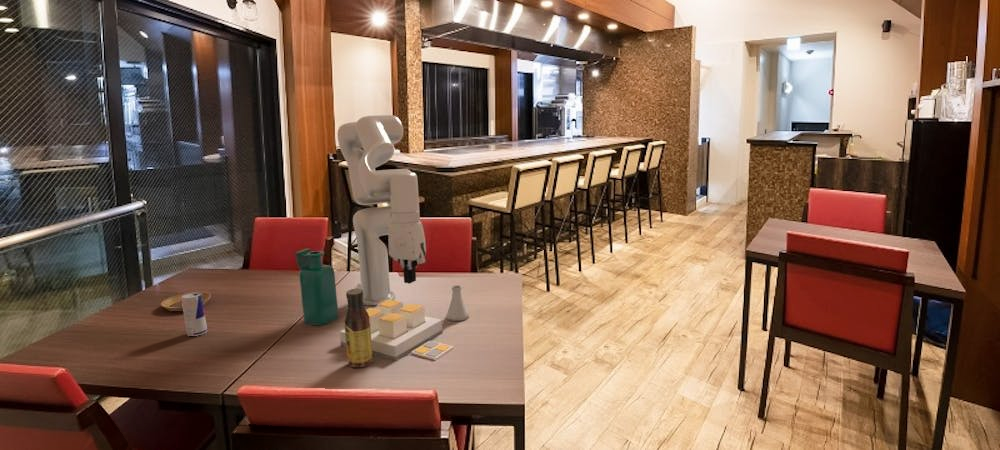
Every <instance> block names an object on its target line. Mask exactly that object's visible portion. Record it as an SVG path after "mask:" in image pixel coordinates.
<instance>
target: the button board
mask: <svg viewBox="0 0 1000 450" xmlns="http://www.w3.org/2000/svg"><path fill="white" fill-rule="evenodd" d="M442 321H443V320H442V319H439V318H436V317H435V318H434V317H430V316H426V315H425V323H423V324H422V325H420V326H418V327H416V328H414V329H411V328H407V327H406V329H407V333H405V334H403V335H402V336H400V337H398V338H396V339H394V340H393V339H389V338H386V337H382V336H379V330H378V331H376V332H374V333H372V334H371V343H372V355H375V356H378V357H383V358H386V359H389V360H392V361H398V360H399V359H401V358H403V357H405V356H406V355H408V354H409V353H411V352H412V351H413V350H415V349H417V348H418V347H420V346H422V345H423V344H425V343H427V342H428V341H432V340H433V339H434V338H436V337H438V336H439V335H442V333H443V323H442ZM339 334H340V335H339V336H340V345H341V346H343V345H344V347H346V337H345V328H344V329H342V330H340V331H339Z"/></svg>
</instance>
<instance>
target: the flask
mask: <svg viewBox="0 0 1000 450" xmlns="http://www.w3.org/2000/svg"><path fill="white" fill-rule="evenodd" d="M462 288H463V287H462V285H459V284H457V285H451V290H452V295H451V300H450V304H449V307H448V310H447V313H446V320H447V321H453V322H459V321H460V322H461V321H465V320H467V319H468V318H470V315H469V311H468V310H467V309H468V308H467V307H466V305H465V302H464V299H463V297H462Z"/></svg>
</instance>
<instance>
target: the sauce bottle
mask: <svg viewBox="0 0 1000 450" xmlns="http://www.w3.org/2000/svg"><path fill="white" fill-rule="evenodd" d="M345 295H346V299H347V310H346V315H345V318H344V321H343V323H344V324H343V325H344V329H345V337H346V346H345V348H346V355H347V356H346V357H347V362H348V365H349V366H350V367H352V368H364V367H368V366H370V364H372V362H373V354H372V343H371V331H370V323H369V315H368V313H367V311H366V309H365V308H364V306H365V305H364V304H363V290H361V289H355V288H351V289H349V290H347V291H346V292H345Z"/></svg>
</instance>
